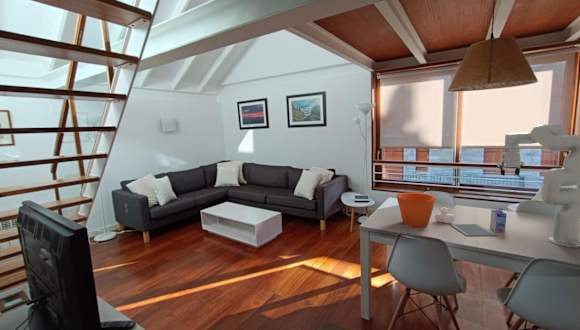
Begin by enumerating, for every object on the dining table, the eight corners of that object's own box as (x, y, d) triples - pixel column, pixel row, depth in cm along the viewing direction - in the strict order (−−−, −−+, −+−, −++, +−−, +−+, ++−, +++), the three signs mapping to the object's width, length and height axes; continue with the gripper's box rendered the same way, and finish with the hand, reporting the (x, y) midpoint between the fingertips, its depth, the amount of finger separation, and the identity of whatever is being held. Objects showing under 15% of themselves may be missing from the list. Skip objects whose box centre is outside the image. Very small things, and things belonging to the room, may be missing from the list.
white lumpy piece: (454, 225, 192) (453, 210, 197) (455, 222, 186) (454, 206, 191) (434, 223, 198) (434, 209, 203) (435, 220, 192) (435, 205, 197)
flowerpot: (410, 231, 179) (411, 202, 176) (389, 220, 203) (389, 194, 201) (444, 227, 184) (444, 198, 181) (419, 216, 208) (419, 191, 206)
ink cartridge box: (505, 233, 170) (507, 210, 168) (495, 232, 172) (496, 210, 170) (499, 227, 179) (500, 206, 178) (489, 227, 181) (490, 205, 180)
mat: (497, 236, 166) (497, 235, 166) (466, 236, 168) (466, 235, 168) (477, 224, 186) (477, 223, 186) (449, 225, 188) (450, 224, 188)
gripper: (501, 151, 189) (500, 176, 191) (528, 150, 187) (527, 175, 189) (494, 150, 196) (493, 174, 198) (520, 149, 195) (518, 173, 197)
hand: (509, 174), depth 194 cm, fingers open, 9 cm apart
